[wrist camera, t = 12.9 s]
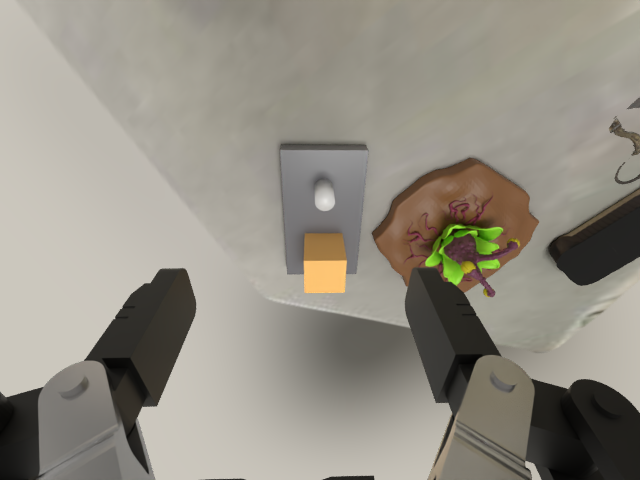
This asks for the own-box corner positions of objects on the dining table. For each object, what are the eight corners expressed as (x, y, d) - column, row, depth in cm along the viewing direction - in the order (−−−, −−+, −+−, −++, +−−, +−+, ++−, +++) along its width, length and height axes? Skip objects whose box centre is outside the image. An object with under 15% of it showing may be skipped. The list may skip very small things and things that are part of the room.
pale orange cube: (304, 233, 40) (303, 260, 35) (342, 233, 40) (346, 260, 35) (305, 263, 43) (304, 292, 38) (340, 263, 43) (344, 292, 38)
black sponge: (562, 275, 49) (580, 291, 46) (539, 245, 45) (556, 260, 42) (679, 208, 42) (708, 221, 39) (662, 168, 39) (692, 178, 36)
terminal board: (281, 144, 36) (276, 161, 31) (365, 145, 36) (374, 162, 31) (288, 265, 46) (285, 293, 41) (354, 265, 46) (359, 292, 41)
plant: (468, 128, 36) (524, 160, 26) (548, 220, 43) (614, 271, 34) (350, 238, 44) (361, 293, 34) (434, 300, 51) (462, 359, 42)
